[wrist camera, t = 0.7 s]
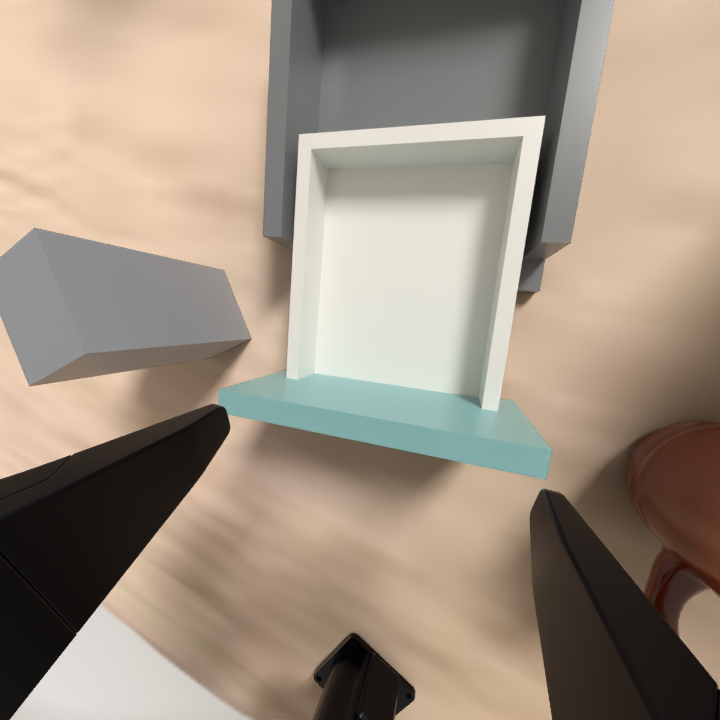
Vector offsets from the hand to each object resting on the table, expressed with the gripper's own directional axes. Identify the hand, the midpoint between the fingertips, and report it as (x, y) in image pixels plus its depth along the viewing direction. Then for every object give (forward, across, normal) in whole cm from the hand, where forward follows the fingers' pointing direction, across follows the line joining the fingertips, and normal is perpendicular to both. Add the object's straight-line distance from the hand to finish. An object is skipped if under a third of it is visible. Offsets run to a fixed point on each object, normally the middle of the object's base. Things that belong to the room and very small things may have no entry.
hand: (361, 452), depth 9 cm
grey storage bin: (+18, +2, -9) cm, 20 cm away
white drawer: (+14, +2, -1) cm, 14 cm away
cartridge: (+14, +17, +3) cm, 22 cm away
